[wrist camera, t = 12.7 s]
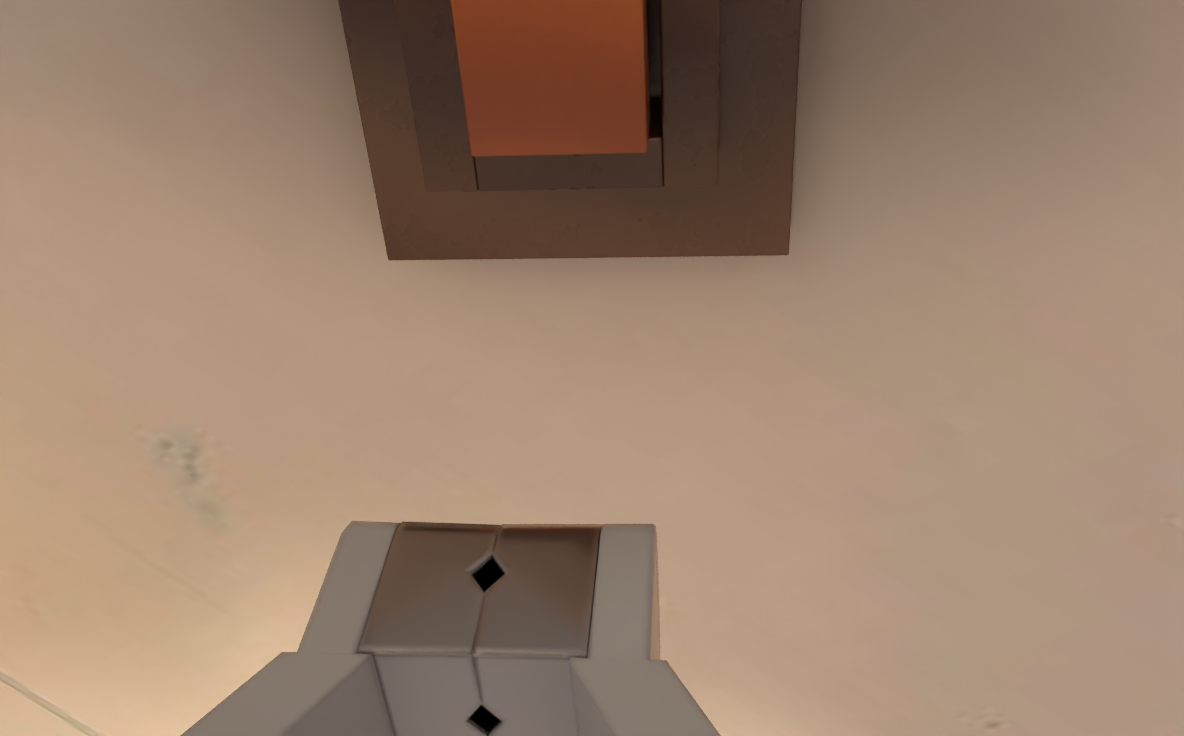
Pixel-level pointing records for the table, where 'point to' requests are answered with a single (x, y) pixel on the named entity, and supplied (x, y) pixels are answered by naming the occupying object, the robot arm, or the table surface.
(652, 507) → the table surface
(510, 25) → the key
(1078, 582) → the table surface
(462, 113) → the brown button base
